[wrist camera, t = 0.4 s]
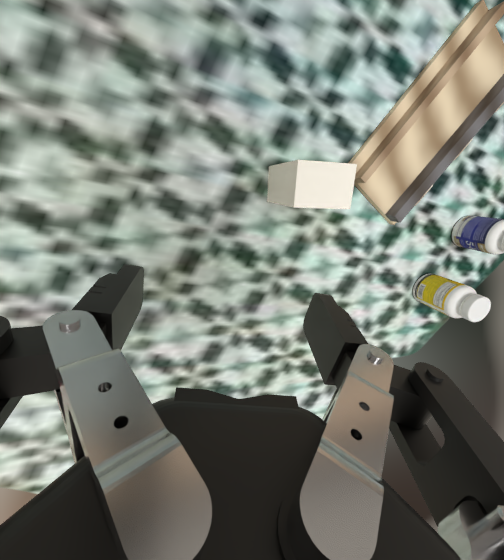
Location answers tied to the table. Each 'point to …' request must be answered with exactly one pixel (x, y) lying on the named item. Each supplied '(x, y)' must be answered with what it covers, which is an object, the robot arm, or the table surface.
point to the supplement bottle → (451, 297)
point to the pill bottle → (480, 234)
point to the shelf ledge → (434, 117)
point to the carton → (311, 184)
